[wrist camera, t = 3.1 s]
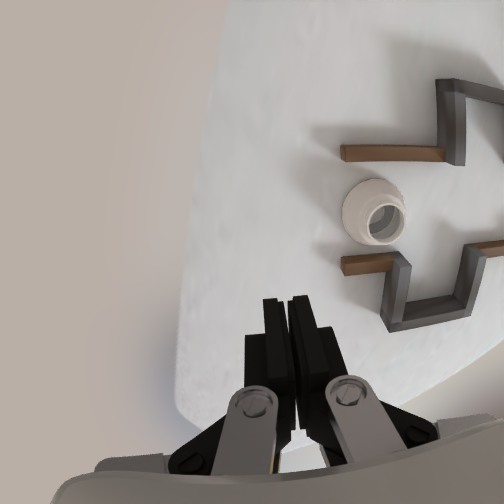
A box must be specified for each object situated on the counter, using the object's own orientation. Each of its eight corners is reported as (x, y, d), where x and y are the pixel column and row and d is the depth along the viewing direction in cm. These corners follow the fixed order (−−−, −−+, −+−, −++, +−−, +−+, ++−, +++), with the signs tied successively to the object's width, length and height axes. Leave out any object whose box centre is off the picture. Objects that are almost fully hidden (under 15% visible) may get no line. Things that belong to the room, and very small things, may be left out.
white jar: (327, 209, 22) (366, 253, 24) (337, 223, 19) (379, 271, 21) (376, 163, 21) (411, 211, 22) (393, 172, 18) (429, 225, 19)
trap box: (335, 70, 18) (346, 65, 15) (564, 115, 16) (580, 119, 14) (337, 321, 26) (344, 339, 24) (539, 281, 25) (550, 292, 23)
